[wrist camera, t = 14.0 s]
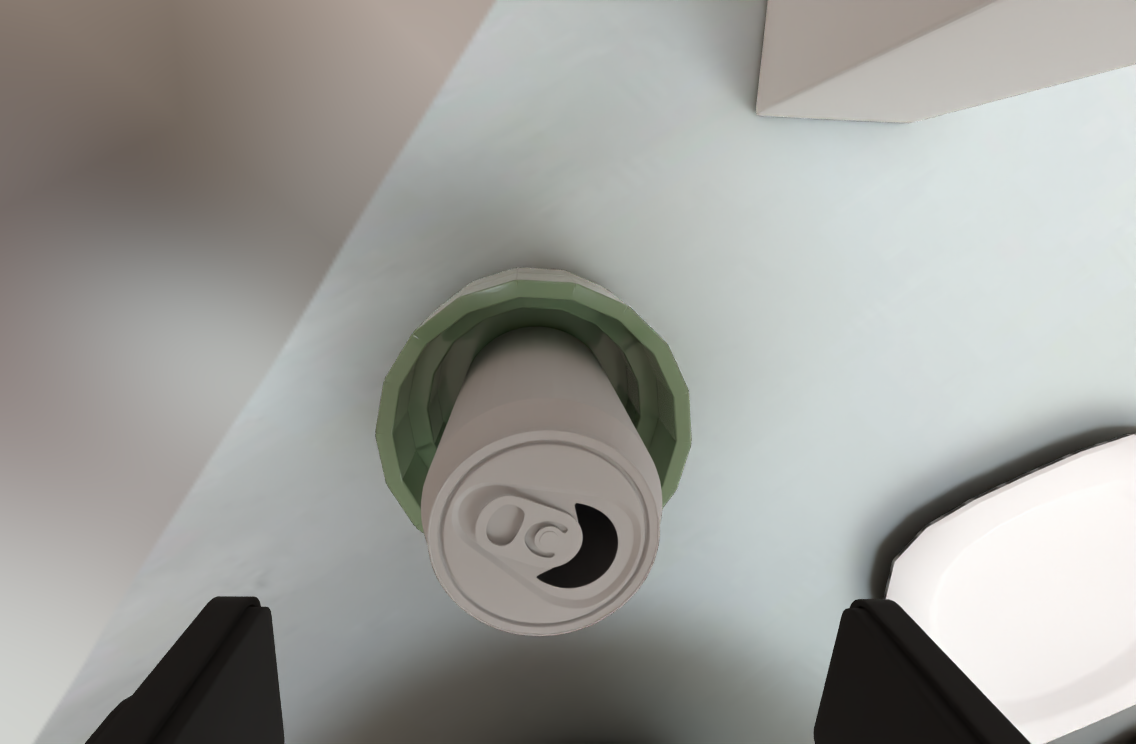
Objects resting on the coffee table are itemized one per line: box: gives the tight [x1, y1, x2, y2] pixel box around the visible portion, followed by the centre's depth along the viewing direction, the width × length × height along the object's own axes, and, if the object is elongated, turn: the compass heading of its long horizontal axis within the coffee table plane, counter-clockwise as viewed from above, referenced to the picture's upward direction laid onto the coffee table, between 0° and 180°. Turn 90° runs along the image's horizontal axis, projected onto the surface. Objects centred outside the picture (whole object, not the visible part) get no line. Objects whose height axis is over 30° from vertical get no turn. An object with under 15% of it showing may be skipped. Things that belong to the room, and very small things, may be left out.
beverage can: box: [421, 327, 662, 636], centre depth 19 cm, size 6×6×12 cm
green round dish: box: [375, 267, 692, 533], centre depth 22 cm, size 11×11×6 cm
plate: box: [883, 434, 1136, 744], centre depth 30 cm, size 18×18×2 cm
